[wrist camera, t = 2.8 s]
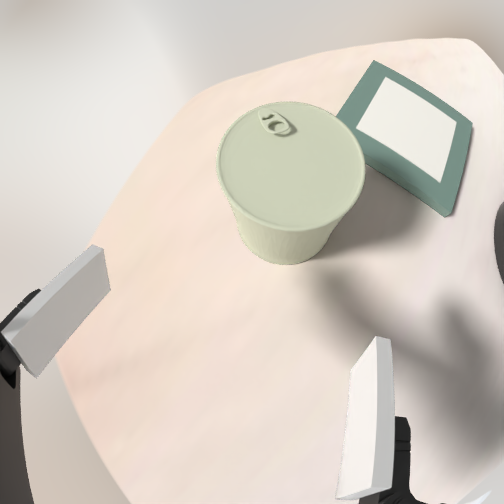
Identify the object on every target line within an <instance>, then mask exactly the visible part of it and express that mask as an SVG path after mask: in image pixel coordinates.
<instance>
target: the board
mask: <svg viewBox="0 0 504 504" xmlns="http://www.w3.org/2000/svg"><path fill="white" fill-rule="evenodd" d="M336 117H337V118H338V119H339V120H341V121H342V122H343V123H344V124H345V125H346V126H347V127H348V128H349V129H350V130H351V131H352V133H353V134H354V135H355V137H356V139H357V140H358V142H359V144H360V146H361V148H362V151H363V154H364V159H365V163H366V164H367V165H369V166H370V167H372V168H374V169H375V170H377V171H379V172H380V173H382V174H383V175H385V176H386V177H388V178H389V179H391V180H393V181H394V182H396V183H397V184H399V185H400V186H402V187H403V188H405V189H406V190H407V191H409V192H410V193H412V194H413V195H415V196H416V197H417V198H419V199H420V200H422V201H423V202H424V203H426V204H427V205H429V206H430V207H431V208H433V209H434V210H435V211H437V212H438V213H439V214H441V215H442V216H443V217H446V216H448V215H449V214H451V212H452V209H453V206H454V202H455V199H456V196H457V192H458V188H459V185H460V181H461V177H462V173H463V169H464V165H465V160H466V156H467V151H468V146H469V141H470V135H471V129H472V122H471V121H469V120H468V119H467V118H466V117H464V116H463V115H462V114H460V113H459V112H458V111H456V110H455V109H454V108H452V107H451V106H449V105H448V104H447V103H445V102H444V101H442V100H441V99H439V98H438V97H436V96H435V95H433V94H432V93H430V92H429V91H427V90H426V89H424V88H423V87H421V86H419V85H418V84H416V83H415V82H413V81H411V80H410V79H408V78H406V77H404V76H403V75H401V74H399V73H397V72H395V71H394V70H392V69H390V68H388V67H386V66H384V65H382V64H380V63H378V62H377V61H375V60H373V62H372V63H371V65H370V66H369V68H368V69H367V71H366V72H365V74H364V75H363V77H362V78H361V80H360V81H359V83H358V84H357V86H356V87H355V89H354V90H353V92H352V93H351V95H350V96H349V98H348V99H347V101H346V102H345V104H344V105H343V107H342V108H341V110H340V111H339V113H338V114H337V116H336Z"/></svg>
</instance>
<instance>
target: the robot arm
mask: <svg viewBox="0 0 504 504" xmlns="http://www.w3.org/2000/svg"><path fill="white" fill-rule="evenodd" d="M494 244H495V254H496V259H497V264H498V268H499V272H500V275H501V278H502V281H503V283H504V202H503V203H502V204H501V206H500V207H499V210H498V212H497V216H496V220H495V228H494ZM110 290H111V289H110V284H109V279H108V273H107V267H106V262H105V255H104V249H103V248H100V247H97V246H95V245H91V246H90V247H89V248H88V249H87V250H85V251H84V252H83V253H82V254H81V255H80V256H79V257H77V258H76V259H75V260H74V261H73V262H72V263H70V264H69V265H68V266H67V267H66V268H65V269H64V270H63V271H62V272H61V273H59V274H58V275H57V276H56V277H55V278H54V279H53V280H52V281H51V282H50V283H49V284H48V285H46V286H45V287H44V288H43V289H42V290H40V289H37V290H35V291H33V292H31V293H30V294H29V295H28V296H26V297H25V298H24V299H23V301H22V302H20V304H18V306H17V308H15V309H14V310H12V312H11V313H10V314H9V315H8V316H7V317H6V318H5V319H4V320H3V321H2V322H1V323H0V504H34V501H33V497H32V493H31V489H30V484H29V479H28V473H27V468H26V461H25V455H24V447H23V437H22V426H21V407H20V367H19V365H20V364H21V363H22V365H23V366H24V368H25V369H26V370H27V371H28V372H29V373H30V374H32V375H33V376H34V377H35V378H37V377H38V376H39V375H40V373H41V372H42V371H43V370H44V368H45V367H46V365H47V364H48V363H49V362H50V361H51V359H52V358H53V357H54V356H55V354H56V353H57V352H58V351H59V349H60V348H61V347H62V346H63V344H64V343H65V342H66V341H67V340H68V338H69V337H70V336H71V335H72V334H73V332H74V331H75V330H76V329H77V328H78V326H79V325H80V324H81V323H82V322H83V321H84V319H85V318H86V317H87V316H88V315H89V314H90V313H91V311H92V310H93V309H94V308H95V307H96V306H97V305H98V304H99V302H100V301H101V300H102V299H103V298H104V297H105V296H106V295H107V294H108V292H109V291H110ZM410 441H411V431H410V426H409V424H408V421H407V419H406V418H405V417H397V416H395V400H394V375H393V360H392V348H391V339H387V338H383V337H379V336H375V338H374V339H373V340H372V342H371V343H370V345H369V346H368V348H367V349H366V350H365V352H364V353H363V354H362V356H361V357H360V358H359V360H358V361H357V362H356V364H355V365H354V366H353V368H352V369H351V370H350V385H349V398H348V410H347V420H346V429H345V438H344V445H343V453H342V460H341V466H340V473H339V479H338V484H337V490H336V495H335V499H339V500H356V499H359V498H360V499H359V504H426V503H423V502H420V501H418V500H416V499H415V498H414V496H413V495H412V494H411V493H410V489H409V478H410V450H411V443H410ZM441 504H444V503H441Z"/></svg>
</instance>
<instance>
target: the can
mask: <svg viewBox="0 0 504 504" xmlns="http://www.w3.org/2000/svg"><path fill="white" fill-rule="evenodd" d="M216 171H217V177H218V180H219V184H220V186H221V189H222V191H223V192H224V194H225V196H226V197H227V199H228V201H229V204H230V206H231V208H232V211H233V213H234V216H235V218H236V221H237V227H238V231H239V234H240V236H241V238H242V240H243V242H244V243H245V245H246V246H247V247H248V249H249V250H250V251H251V252H252V253H254V254H255V255H256V256H258V257H259V258H261V259H263V260H265V261H267V262H270V263H274V264H279V265H292V264H297V263H301V262H304V261H306V260H308V259H310V258H312V257H313V256H315V255H316V254H317V253H318V252H319V251H320V250H321V249H322V248H323V247H324V245H325V244H326V242H327V241H328V239H329V236H330V234H331V232H332V231H333V230H334V228H335V227H336V226H337V224H338V223H339V222H340V220H341V219H342V218H343V216H344V215H345V214H346V213H347V212H348V211H349V210H350V209H351V208H352V207H353V206H354V204H355V203H356V201H357V200H358V198H359V196H360V194H361V192H362V189H363V186H364V182H365V176H366V166H365V159H364V154H363V151H362V148H361V146H360V144H359V142H358V140H357V139H356V137H355V135H354V134H353V133H352V131H351V130H350V129H349V128H348V127H347V126H346V125H345V124H344V123H343V122H342V121H341V120H339V119H338V118H337V117H336V116H334V115H332V114H331V113H329V112H327V111H325V110H323V109H321V108H319V107H316V106H313V105H309V104H305V103H299V102H276V103H270V104H266V105H262V106H259V107H257V108H255V109H252V110H250V111H249V112H247V113H245V114H244V115H242V116H241V117H240V118H238V119H237V120H236V121H235V122H234V123H233V124H232V125H231V126H230V127H229V129H228V130H227V131H226V133H225V134H224V136H223V138H222V140H221V142H220V145H219V147H218V152H217V157H216Z"/></svg>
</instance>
